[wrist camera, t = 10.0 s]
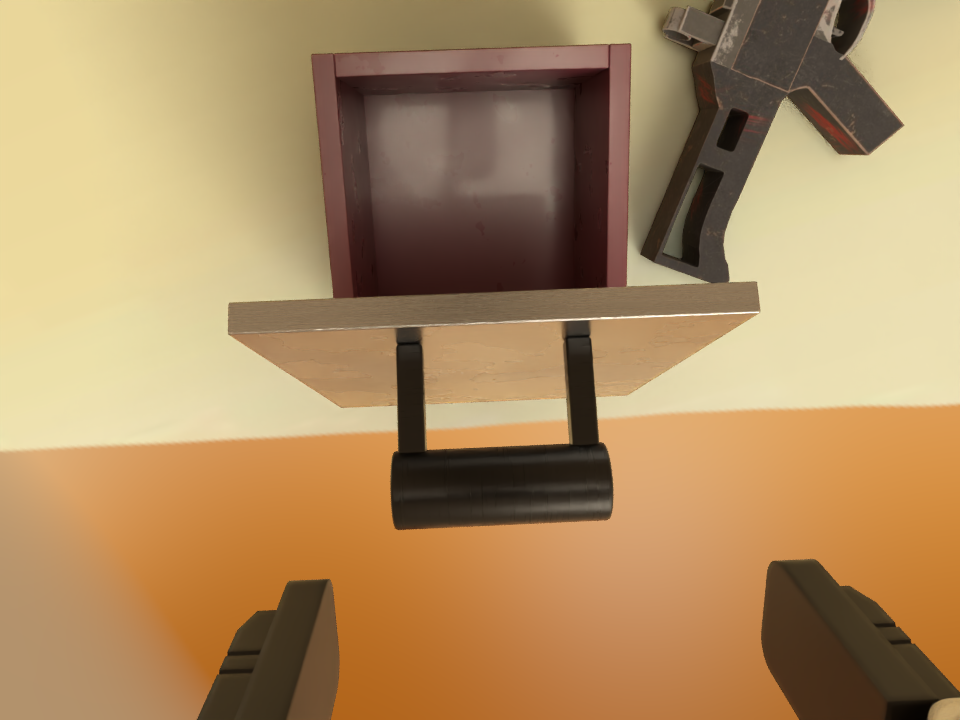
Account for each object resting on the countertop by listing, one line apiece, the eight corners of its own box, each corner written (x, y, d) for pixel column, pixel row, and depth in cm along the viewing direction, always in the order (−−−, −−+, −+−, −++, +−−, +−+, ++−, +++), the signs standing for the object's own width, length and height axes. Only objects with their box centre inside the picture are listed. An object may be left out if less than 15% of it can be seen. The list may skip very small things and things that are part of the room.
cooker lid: (227, 301, 17) (223, 542, 16) (757, 280, 18) (785, 516, 16) (340, 390, 32) (341, 518, 31) (626, 377, 32) (636, 504, 31)
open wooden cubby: (347, 79, 38) (310, 53, 29) (588, 71, 38) (631, 43, 29) (368, 341, 42) (342, 395, 32) (586, 332, 42) (624, 383, 33)
